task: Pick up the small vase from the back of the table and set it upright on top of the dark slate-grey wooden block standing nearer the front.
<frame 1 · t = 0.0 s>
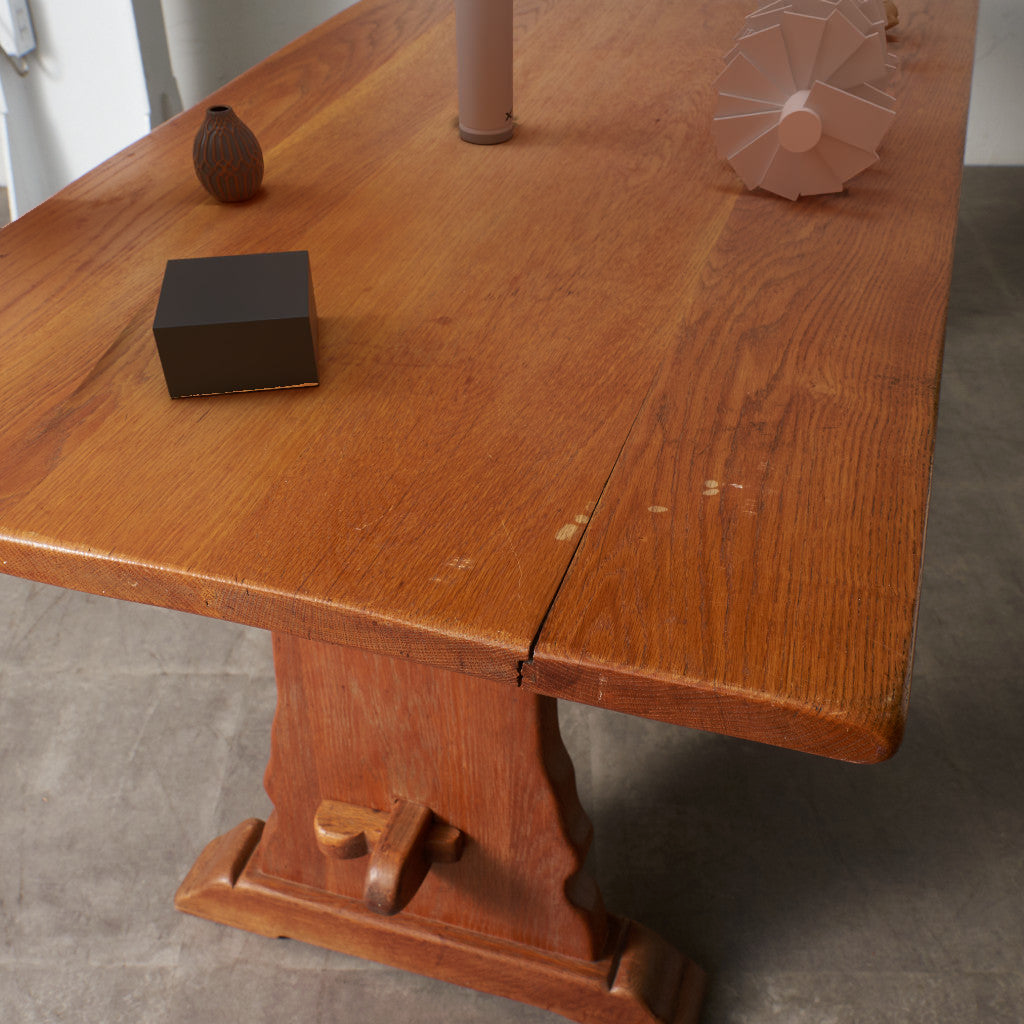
riser block: (248, 355, 80), on the table
spiral staircase: (789, 167, 111), on the table
travel mug: (487, 137, 118), on the table
vase: (235, 196, 105), on the table
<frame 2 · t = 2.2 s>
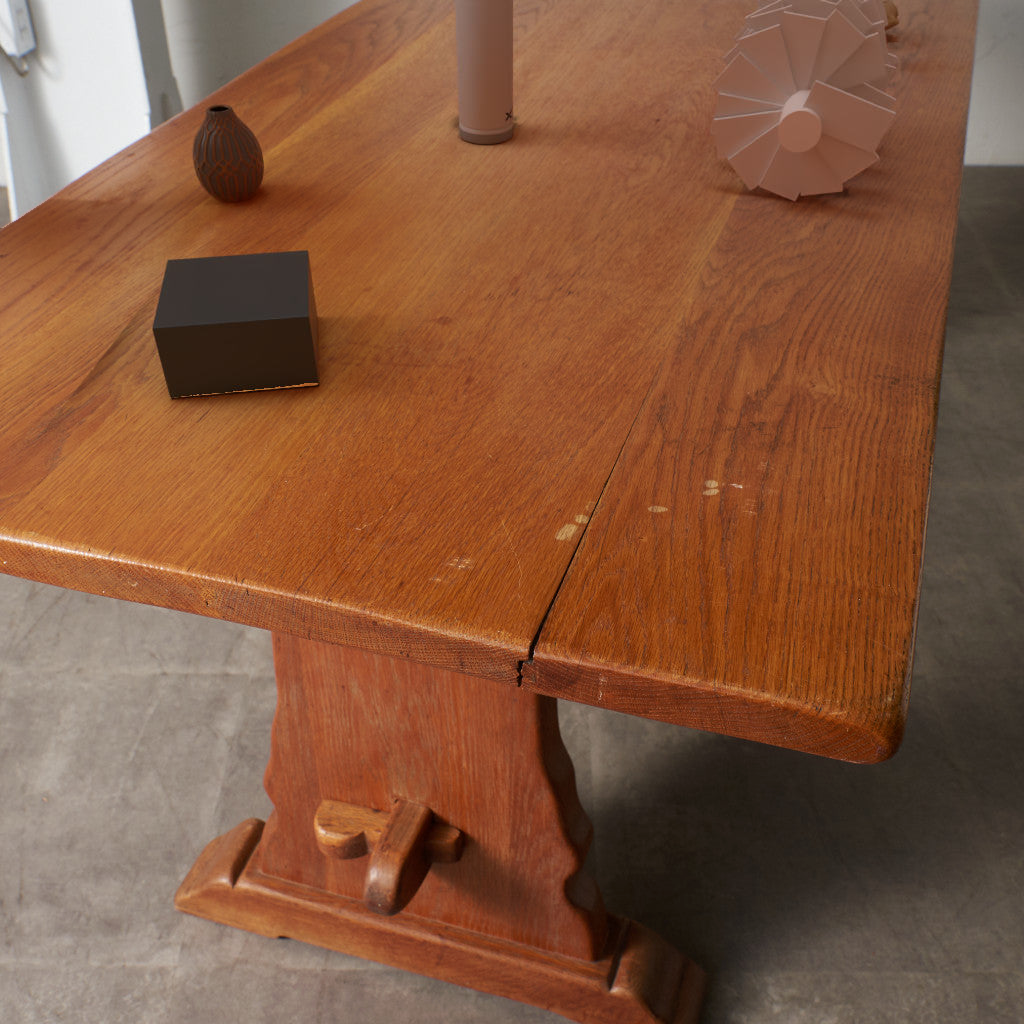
nothing on the table moved.
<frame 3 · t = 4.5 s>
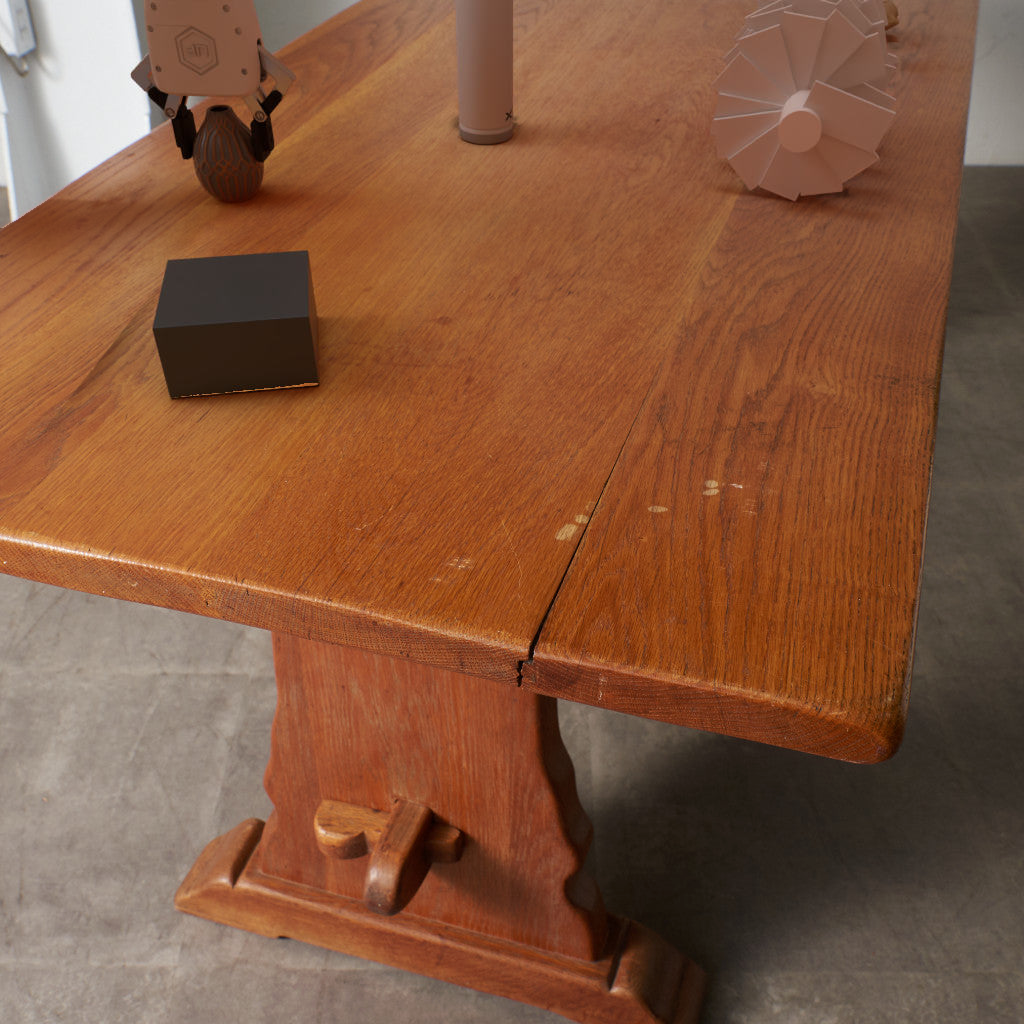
hand: (227, 154, 102), 4 cm above the table, tool pointing down, fingers closed on vase, 6 cm apart
vase: (235, 196, 105), on the table, touching gripper
everything else where it was.
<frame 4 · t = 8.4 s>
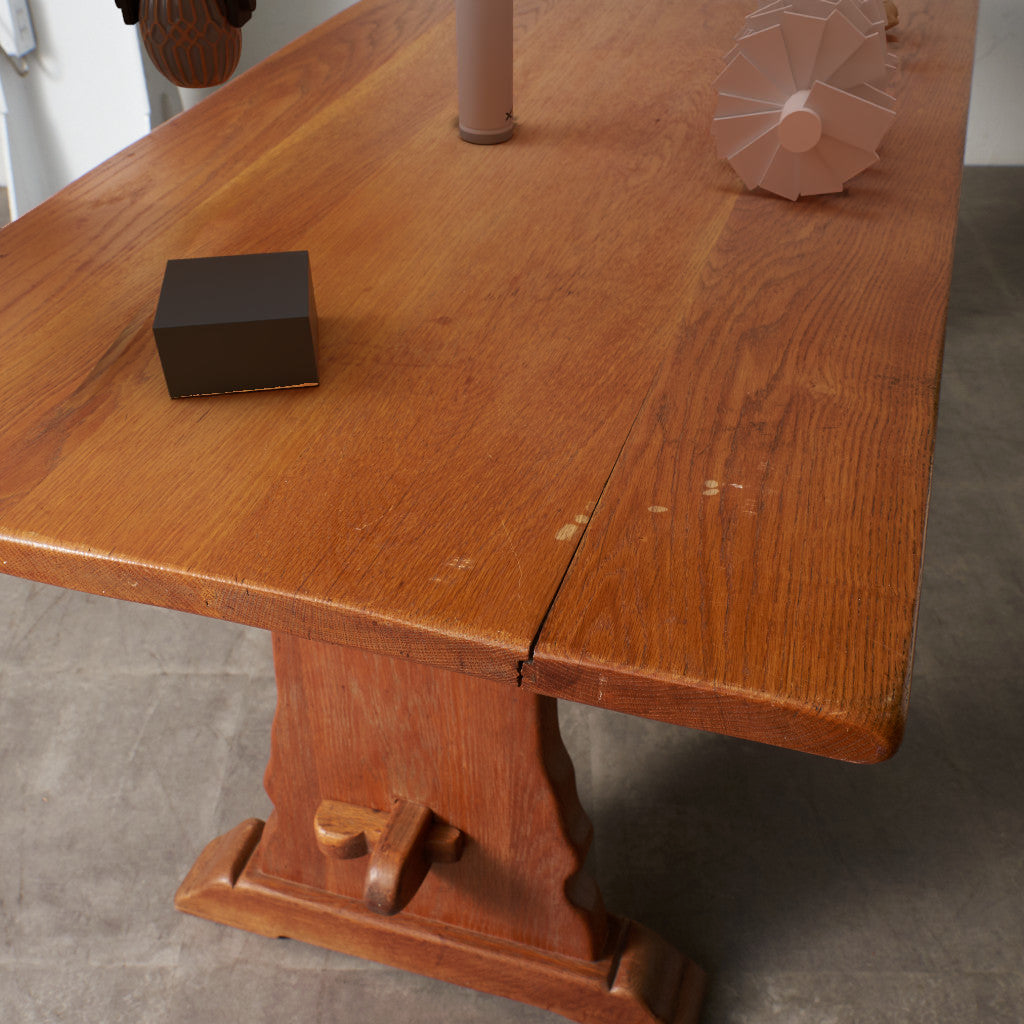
hand: (189, 19, 71), 23 cm above the table, tool pointing down, fingers closed on vase, 6 cm apart
vase: (201, 83, 74), point 18 cm above the table, touching gripper
everything else where it was.
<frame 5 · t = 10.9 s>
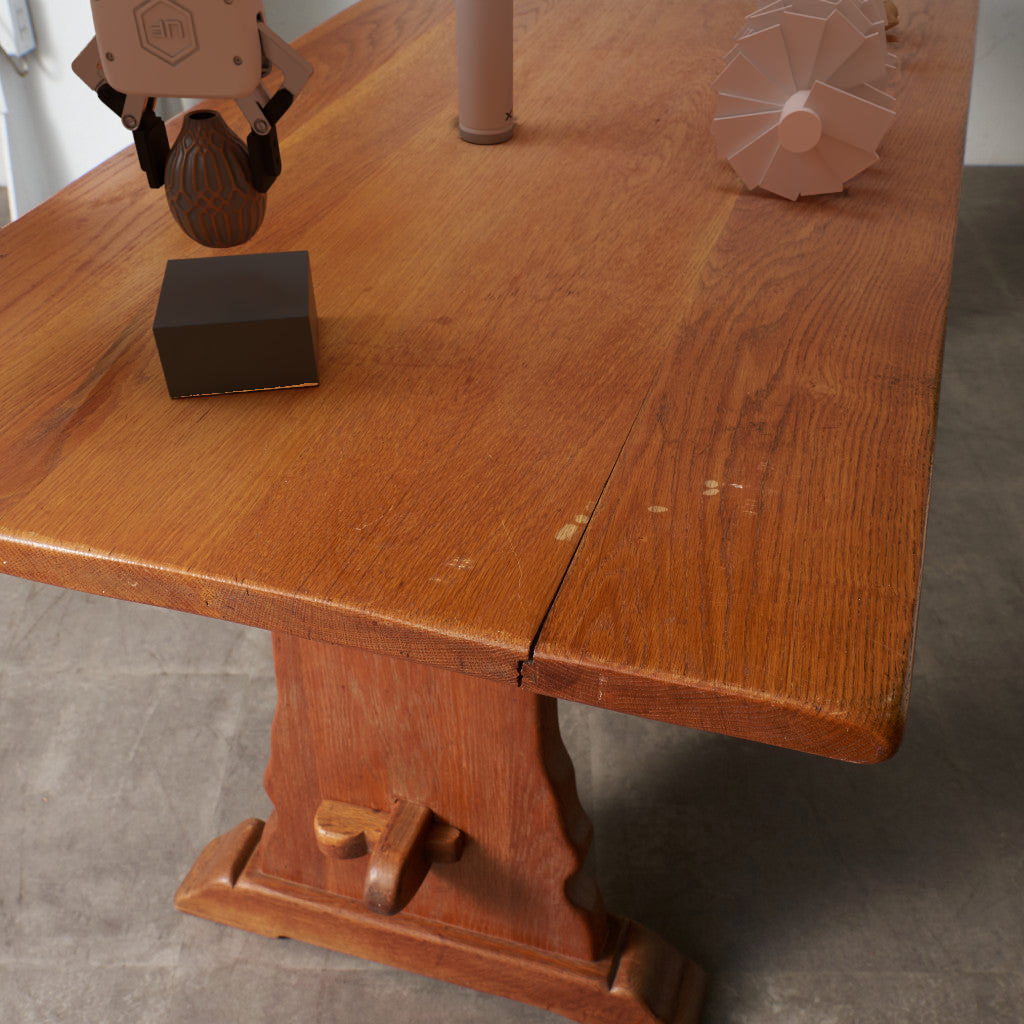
hand: (214, 181, 71), 14 cm above the table, tool pointing down, fingers closed on vase, 6 cm apart
vase: (225, 239, 74), point 10 cm above the table, touching gripper
everything else where it was.
when the fingers open (10 cm above the table, at t = 12.5 s): vase stays where it is, resting on riser block.
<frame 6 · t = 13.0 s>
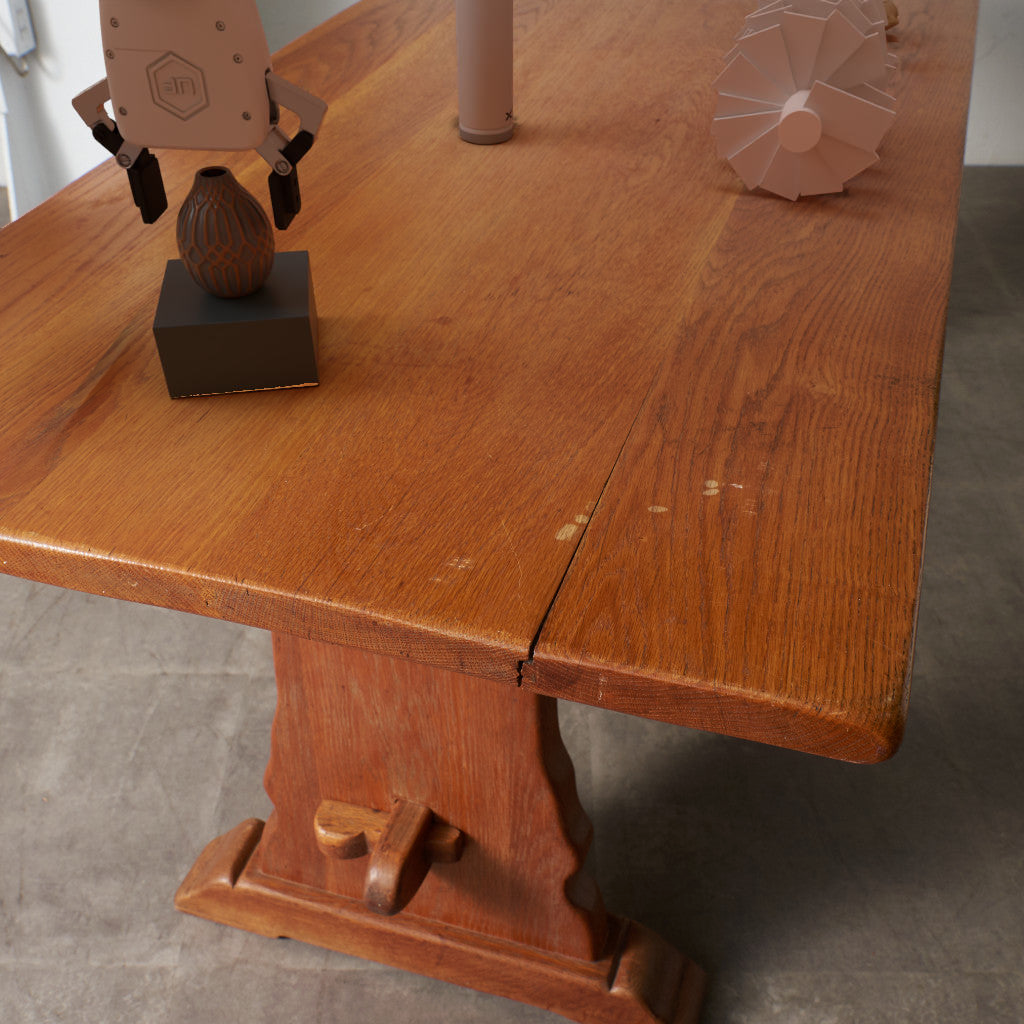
hand: (221, 219, 73), 11 cm above the table, tool pointing down, fingers open, 9 cm apart
riser block: (248, 355, 80), on the table, touching vase
vase: (235, 288, 76), point 6 cm above the table, touching riser block
everything else where it was.
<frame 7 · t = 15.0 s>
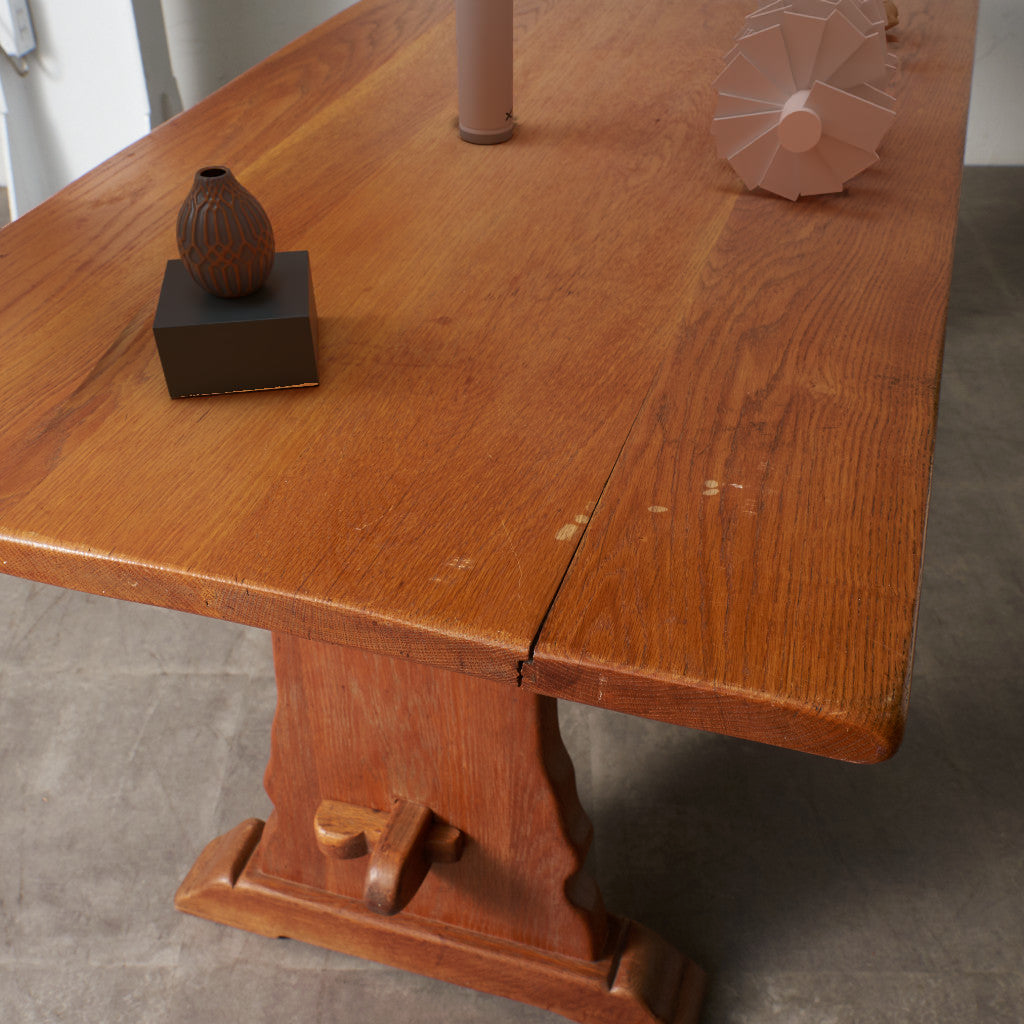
nothing on the table moved.
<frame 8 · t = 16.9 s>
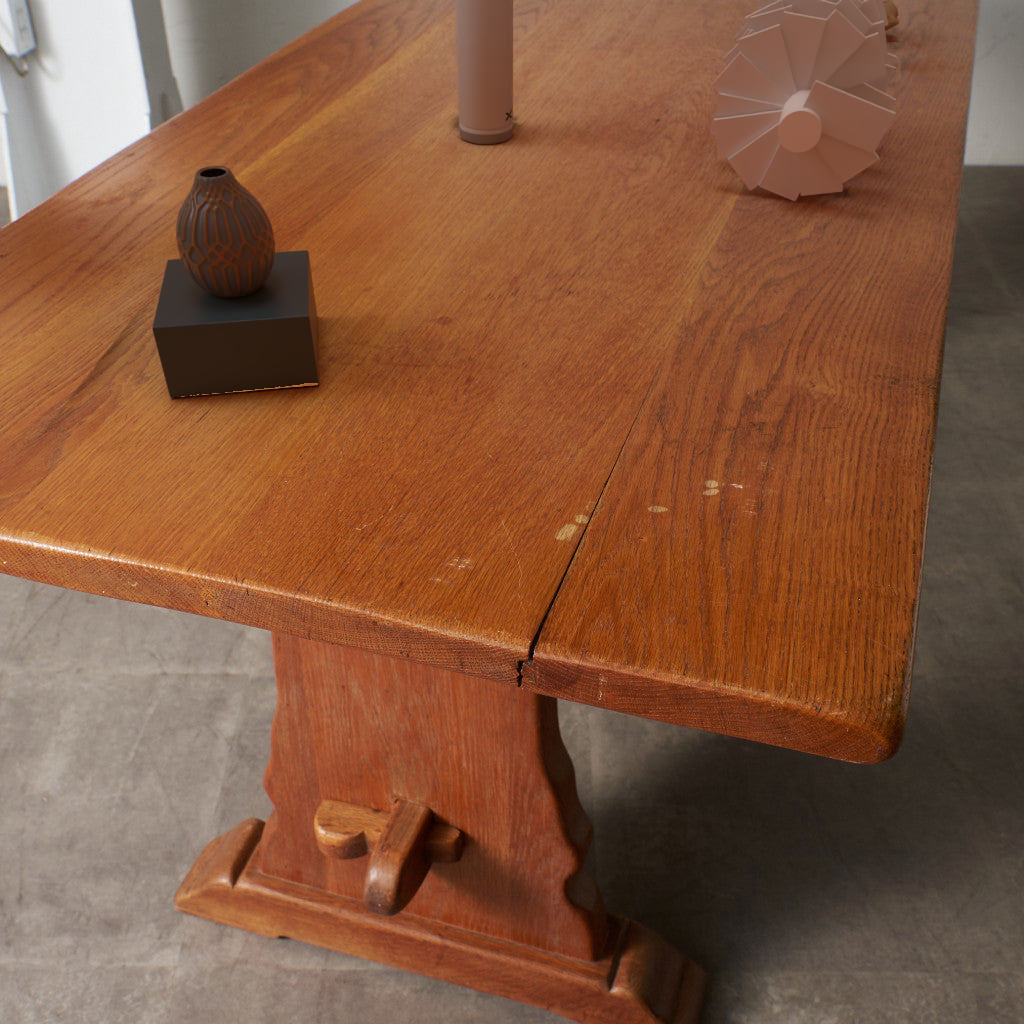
nothing on the table moved.
at the end: vase 0.0 cm off-centre on the riser block, point 5.8 cm above the riser block's base; vase tilted 0°; the gripper is holding nothing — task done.
